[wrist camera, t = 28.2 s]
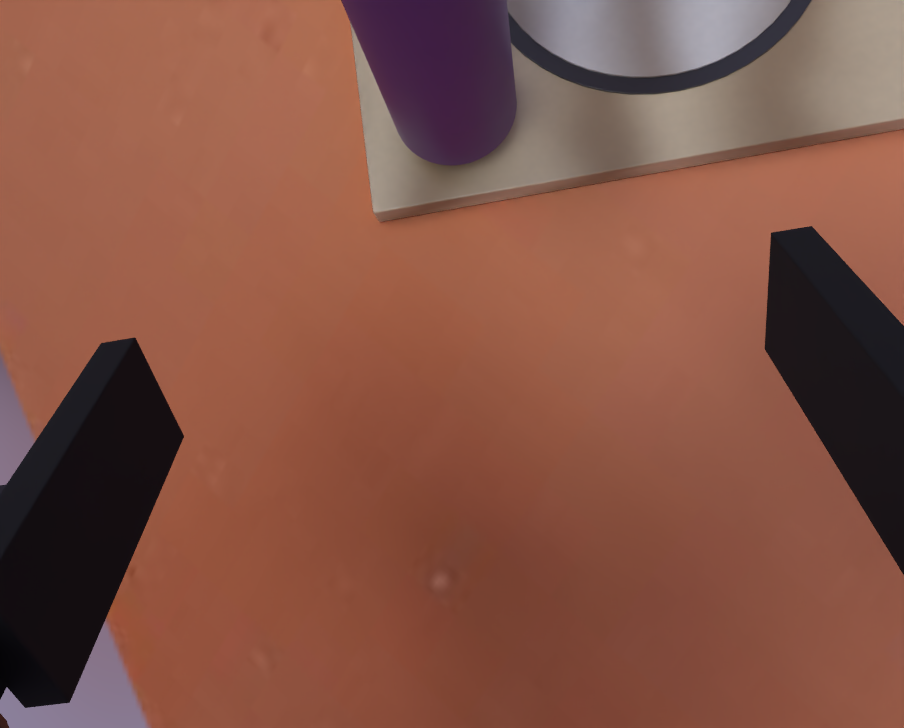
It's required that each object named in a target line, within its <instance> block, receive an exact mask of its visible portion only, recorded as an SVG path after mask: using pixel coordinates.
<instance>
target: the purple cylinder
mask: <svg viewBox="0 0 904 728" xmlns="http://www.w3.org/2000/svg"><path fill="white" fill-rule="evenodd" d="M341 1H342V3H343V6H344V8H345V10H346V13H347V15H348V17H349V20H350V22H351V24H352V27H353V29H354V31H355V34H356V36H357V38H358V41H359V43H360V45H361V48H362V50H363V52H364V55H365V57H366V59H367V62H368V64H369V66H370V69H371V71H372V73H373V76H374V78H375V80H376V83H377V85H378V87H379V90H380V92H381V94H382V97H383V99H384V101H385V104H386V106H387V108H388V111H389V113H390V115H391V118H392V120H393V122H394V125H395V127H396V129H397V132H398V134H399V136H400V137H401V139H402V141H403V142H404V144H405V145H406V146H407V147H408V148H409V149H410V150H411V151H412V152H413V153H415V154H416V155H417V156H419V157H421V158H422V159H424V160H427V161H429V162H432V163H436V164H440V165H463V164H467V163H471V162H474V161H476V160H479V159H481V158H483V157H485V156H486V155H488V154H489V153H491V152H492V151H493V150H494V149H496V148H497V147H498V146H499V145H500V144H501V143H502V141H503V140H504V139H505V138H506V136H507V135H508V133H509V131H510V129H511V127H512V125H513V122H514V119H515V115H516V109H517V99H516V89H515V79H514V69H513V59H512V48H511V38H510V28H509V18H508V8H507V0H341Z"/></svg>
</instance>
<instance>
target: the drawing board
mask: <svg viewBox="0 0 904 728" xmlns="http://www.w3.org/2000/svg"><path fill="white" fill-rule="evenodd" d="M507 8H508V18H509V28H510V38H511V48H512V59H513V69H514V79H515V89H516V99H517V109H516V115H515V119H514V122H513V125H512V127H511V129H510V131H509V133H508V135H507V136H506V138H505V139H504V140H503V141H502V143H501V144H500V145H499V146H498V147H497V148H496V149H494V150H493V151H492V152H491V153H489V154H488V155H486V156H485V157H483V158H481V159H479V160H476V161H474V162H471V163H467V164H463V165H440V164H436V163H432V162H429V161H427V160H424V159H422V158H421V157H419V156H417V155H416V154H415V153H413V152H412V151H411V150H410V149H409V148H408V147H407V146H406V145H405V144H404V142H403V141H402V139H401V137H400V136H399V134H398V132H397V129H396V127H395V125H394V122H393V120H392V118H391V115H390V113H389V111H388V108H387V106H386V104H385V101H384V99H383V97H382V94H381V92H380V90H379V87H378V85H377V83H376V80H375V78H374V76H373V73H372V71H371V69H370V66H369V64H368V62H367V59H366V57H365V55H364V52H363V50H362V48H361V45H360V43H359V41H358V38H357V36H356V34H355V31H354V29H353V27H352V24H351V22H350V25H351V33H352V41H353V49H354V58H355V66H356V74H357V83H358V91H359V99H360V108H361V116H362V124H363V133H364V141H365V149H366V158H367V166H368V174H369V183H370V191H371V199H372V207H373V213H374V214H375V216H376V218H377V219H378V221H379V222H382V221H388V220H394V219H399V218H405V217H411V216H416V215H422V214H428V213H433V212H439V211H444V210H450V209H456V208H461V207H467V206H473V205H478V204H484V203H489V202H495V201H501V200H506V199H512V198H518V197H523V196H529V195H534V194H540V193H546V192H551V191H557V190H563V189H568V188H574V187H579V186H585V185H591V184H596V183H602V182H608V181H613V180H619V179H625V178H630V177H636V176H641V175H647V174H653V173H658V172H664V171H670V170H675V169H681V168H686V167H692V166H698V165H703V164H709V163H715V162H720V161H726V160H731V159H737V158H743V157H748V156H754V155H760V154H765V153H771V152H777V151H782V150H788V149H793V148H799V147H805V146H810V145H816V144H822V143H827V142H833V141H838V140H844V139H850V138H855V137H861V136H867V135H872V134H878V133H883V132H889V131H895V130H900V129H904V0H507Z"/></svg>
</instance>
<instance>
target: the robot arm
mask: <svg viewBox="0 0 904 728" xmlns="http://www.w3.org/2000/svg"><path fill="white" fill-rule="evenodd" d="M765 350H766V352H767V353H768V355H769V357H770V358H771V360H772V361H773V363H774V365H775V366H776V368H777V370H778V371H779V373H780V374H781V376H782V378H783V379H784V381H785V383H786V384H787V386H788V387H789V389H790V391H791V392H792V394H793V396H794V397H795V399H796V400H797V402H798V404H799V405H800V407H801V409H802V410H803V412H804V413H805V415H806V417H807V418H808V420H809V422H810V423H811V425H812V426H813V428H814V430H815V431H816V433H817V435H818V436H819V438H820V439H821V441H822V443H823V444H824V446H825V448H826V449H827V451H828V452H829V454H830V456H831V457H832V459H833V461H834V462H835V464H836V466H837V467H838V469H839V470H840V472H841V474H842V475H843V477H844V479H845V480H846V482H847V483H848V485H849V487H850V488H851V490H852V492H853V493H854V495H855V496H856V498H857V500H858V501H859V503H860V505H861V506H862V508H863V509H864V511H865V513H866V514H867V516H868V518H869V519H870V521H871V522H872V524H873V526H874V527H875V529H876V531H877V532H878V534H879V535H880V537H881V539H882V540H883V542H884V544H885V545H886V547H887V548H888V550H889V552H890V553H891V555H892V557H893V558H894V560H895V561H896V563H897V565H898V566H899V568H900V570H901V571H902V573H903V574H904V326H903V325H902V324H901V323H900V322H899V320H898V319H897V318H896V317H895V316H894V315H893V314H892V313H891V312H890V311H889V310H888V309H887V307H886V306H885V305H884V304H883V303H882V302H881V301H880V300H879V299H878V298H877V297H876V295H875V294H874V293H873V292H872V291H871V290H870V289H869V288H868V287H867V286H866V285H865V284H864V282H863V281H862V280H861V279H860V278H859V277H858V276H857V275H856V274H855V273H854V272H853V271H852V269H851V268H850V267H849V266H848V265H847V264H846V263H845V262H844V261H843V260H842V259H841V258H840V256H839V255H838V254H837V253H836V252H835V251H834V250H833V249H832V248H831V247H830V246H829V245H828V243H827V242H826V241H825V240H824V239H823V238H822V237H821V236H820V235H819V234H818V233H817V232H816V230H815V229H814V228H813V227H812V226H810V227H804V228H798V229H792V230H785V231H779V232H773V233H771V245H770V264H769V282H768V300H767V318H766V336H765ZM183 438H184V436H183V433H182V431H181V429H180V427H179V425H178V423H177V421H176V419H175V417H174V415H173V413H172V411H171V409H170V407H169V405H168V403H167V401H166V399H165V397H164V395H163V393H162V391H161V389H160V387H159V385H158V383H157V381H156V379H155V377H154V375H153V373H152V371H151V369H150V366H149V364H148V362H147V360H146V358H145V356H144V354H143V352H142V350H141V348H140V346H139V344H138V342H137V340H136V338H130V339H124V340H118V341H112V342H106V343H101V344H100V346H99V347H98V349H97V350H96V352H95V353H94V355H93V356H92V358H91V359H90V361H89V362H88V364H87V365H86V367H85V368H84V370H83V371H82V373H81V374H80V376H79V377H78V379H77V380H76V382H75V383H74V385H73V386H72V388H71V389H70V391H69V392H68V394H67V395H66V397H65V398H64V400H63V401H62V403H61V404H60V406H59V407H58V409H57V410H56V411H55V413H54V414H53V416H52V417H51V419H50V420H49V422H48V423H47V425H46V426H45V428H44V429H43V431H42V432H41V434H40V435H39V437H38V438H37V440H36V441H35V443H34V444H33V446H32V448H31V449H30V450H29V452H28V454H27V455H26V456H25V458H24V459H23V461H22V462H21V464H20V465H19V467H18V468H17V470H16V471H15V473H14V474H13V476H12V477H11V479H10V481H9V482H8V483H7V485H1V486H0V699H1V697H2V695H3V693H4V690H5V689H6V687H8V689H9V690H10V691H11V692H12V693H13V694H14V695H15V697H16V698H17V699H18V700H19V701H20V702H21V704H22V705H23V706H24V707H25V708H27V707H36V706H44V705H53V704H61V703H69V702H70V700H71V698H72V696H73V693H74V691H75V688H76V686H77V684H78V681H79V679H80V677H81V675H82V672H83V670H84V668H85V665H86V663H87V661H88V658H89V655H90V654H91V651H92V649H93V647H94V644H95V642H96V640H97V638H98V635H99V633H100V630H101V628H102V626H103V624H104V621H105V619H106V617H107V614H108V612H109V610H110V607H111V605H112V603H113V600H114V598H115V596H116V593H117V591H118V589H119V586H120V584H121V582H122V579H123V577H124V575H125V572H126V570H127V568H128V565H129V563H130V561H131V558H132V556H133V554H134V551H135V549H136V547H137V544H138V542H139V540H140V538H141V535H142V533H143V531H144V528H145V526H146V524H147V521H148V519H149V517H150V514H151V512H152V510H153V507H154V505H155V503H156V500H157V498H158V496H159V493H160V491H161V489H162V486H163V484H164V482H165V479H166V477H167V475H168V472H169V470H170V468H171V465H172V463H173V461H174V458H175V456H176V454H177V451H178V449H179V447H180V444H181V442H182V440H183ZM0 728H9V726H8V724H7V721H6V719H5V718H4V717H3V716H2V715H1V714H0Z"/></svg>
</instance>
